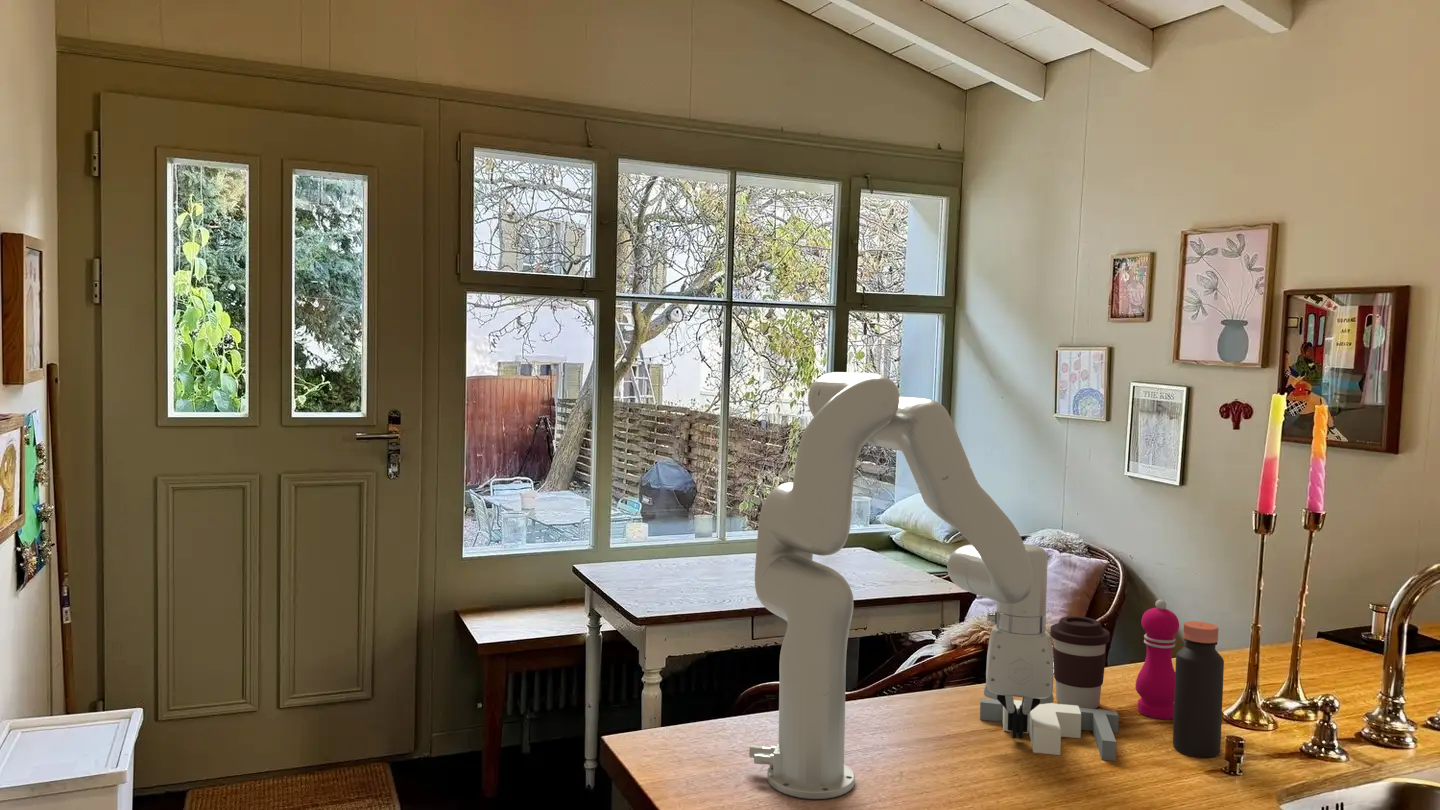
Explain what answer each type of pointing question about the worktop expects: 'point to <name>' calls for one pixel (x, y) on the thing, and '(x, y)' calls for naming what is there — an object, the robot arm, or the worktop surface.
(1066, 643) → the coffee cup
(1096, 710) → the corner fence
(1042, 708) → the t block
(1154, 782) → the worktop surface
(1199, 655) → the bottle
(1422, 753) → the worktop surface
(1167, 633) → the pepper mill
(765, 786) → the worktop surface
